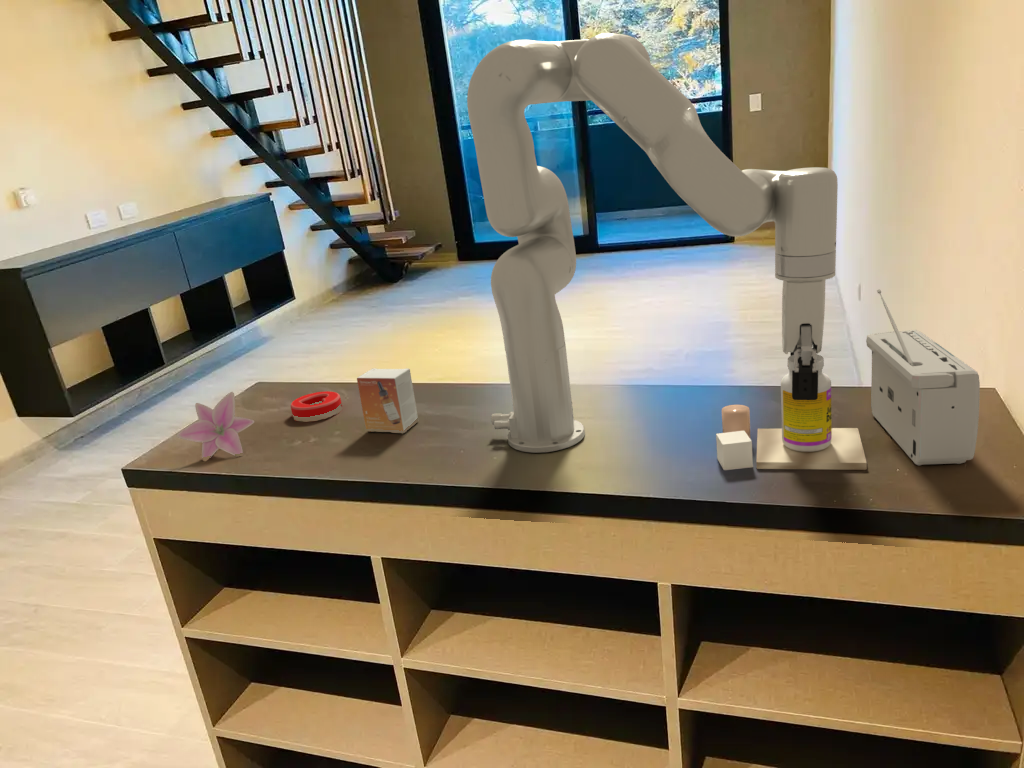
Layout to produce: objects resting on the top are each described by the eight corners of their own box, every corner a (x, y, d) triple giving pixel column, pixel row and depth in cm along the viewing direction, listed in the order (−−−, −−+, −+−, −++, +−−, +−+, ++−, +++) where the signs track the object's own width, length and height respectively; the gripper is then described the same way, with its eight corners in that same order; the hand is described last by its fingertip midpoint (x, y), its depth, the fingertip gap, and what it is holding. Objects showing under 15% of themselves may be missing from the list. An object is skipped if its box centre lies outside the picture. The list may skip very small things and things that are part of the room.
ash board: (756, 468, 112) (756, 462, 112) (757, 434, 123) (757, 428, 123) (866, 469, 108) (866, 462, 108) (857, 434, 119) (857, 428, 118)
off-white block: (724, 470, 113) (722, 444, 112) (717, 459, 117) (715, 433, 116) (752, 467, 113) (751, 441, 112) (745, 456, 117) (744, 430, 115)
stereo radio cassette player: (978, 467, 105) (987, 317, 98) (911, 471, 106) (916, 324, 100) (919, 409, 124) (923, 282, 118) (863, 414, 126) (864, 287, 119)
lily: (177, 465, 145) (165, 430, 138) (211, 418, 153) (201, 383, 146) (238, 482, 143) (229, 448, 137) (270, 434, 152) (262, 399, 145)
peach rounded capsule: (722, 445, 121) (720, 414, 119) (723, 435, 125) (722, 404, 123) (750, 445, 120) (749, 414, 118) (750, 435, 123) (749, 404, 122)
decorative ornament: (290, 413, 162) (287, 398, 161) (338, 401, 165) (335, 387, 164) (296, 427, 154) (293, 411, 153) (346, 415, 157) (343, 399, 156)
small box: (365, 433, 145) (354, 377, 142) (381, 421, 150) (371, 367, 147) (404, 434, 142) (394, 378, 139) (419, 422, 147) (410, 367, 144)
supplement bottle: (834, 453, 111) (834, 364, 107) (784, 454, 113) (782, 367, 109) (828, 433, 118) (827, 349, 113) (780, 435, 119) (778, 352, 115)
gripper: (774, 253, 116) (774, 367, 121) (775, 280, 100) (775, 409, 106) (831, 250, 114) (828, 366, 119) (840, 278, 98) (837, 409, 104)
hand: (803, 386), depth 113 cm, fingers open, 9 cm apart
